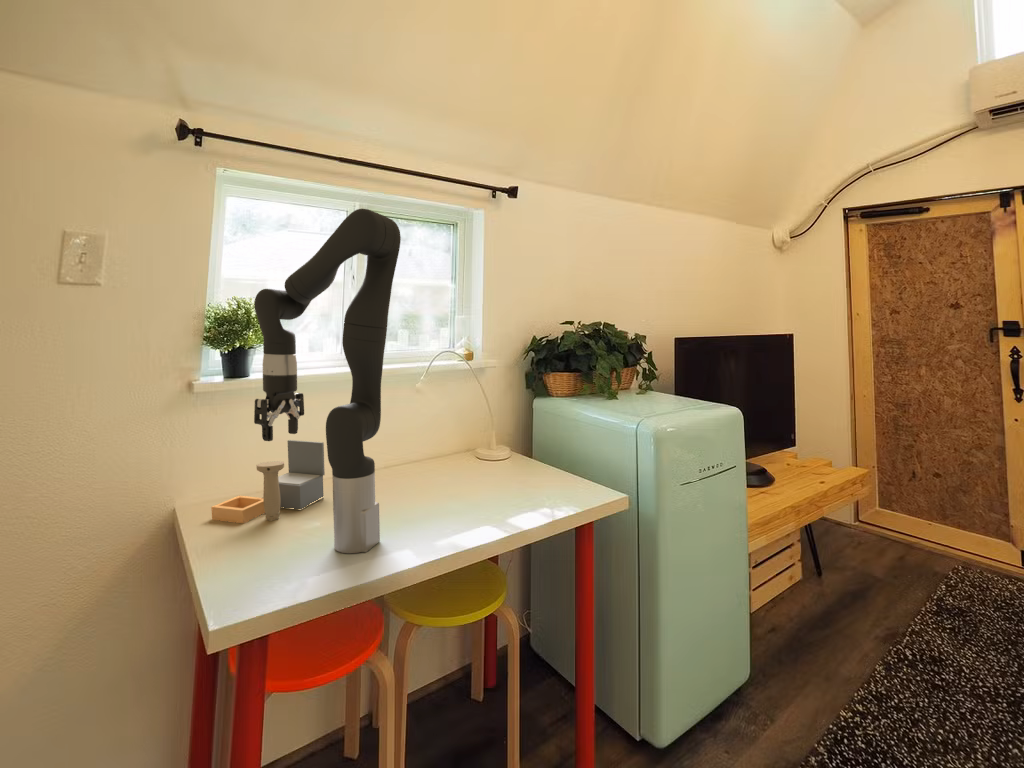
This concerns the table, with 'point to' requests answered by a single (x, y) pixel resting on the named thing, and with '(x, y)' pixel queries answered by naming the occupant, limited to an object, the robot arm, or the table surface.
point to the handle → (271, 488)
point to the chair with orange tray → (283, 485)
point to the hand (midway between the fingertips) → (281, 437)
